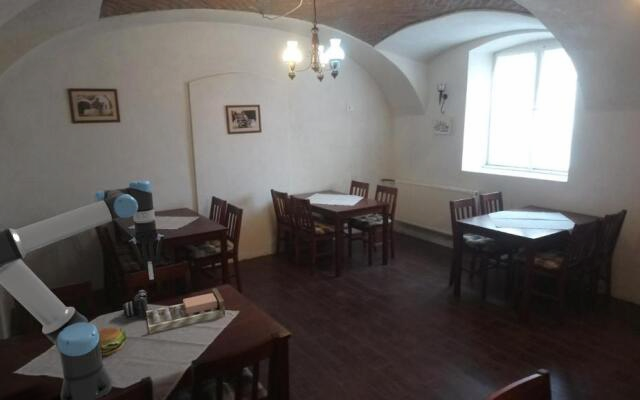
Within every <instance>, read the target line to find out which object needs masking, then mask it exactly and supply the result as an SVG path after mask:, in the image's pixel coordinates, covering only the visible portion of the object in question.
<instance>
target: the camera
mask: <svg viewBox="0 0 640 400" xmlns="http://www.w3.org/2000/svg"><path fill="white" fill-rule="evenodd" d="M147 296H148V293H147V291H146V290H145V289H140V290H138V291H137V294H135V295H134V297H133V300H131V301H129V302H126V303H123V304H122V305H123V306H122V307H123V314H124V316H125V317H134V316H137V315H138V316H140V318H143V319H146V317H147V313H146V311H149V307H148V297H147Z"/></svg>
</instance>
